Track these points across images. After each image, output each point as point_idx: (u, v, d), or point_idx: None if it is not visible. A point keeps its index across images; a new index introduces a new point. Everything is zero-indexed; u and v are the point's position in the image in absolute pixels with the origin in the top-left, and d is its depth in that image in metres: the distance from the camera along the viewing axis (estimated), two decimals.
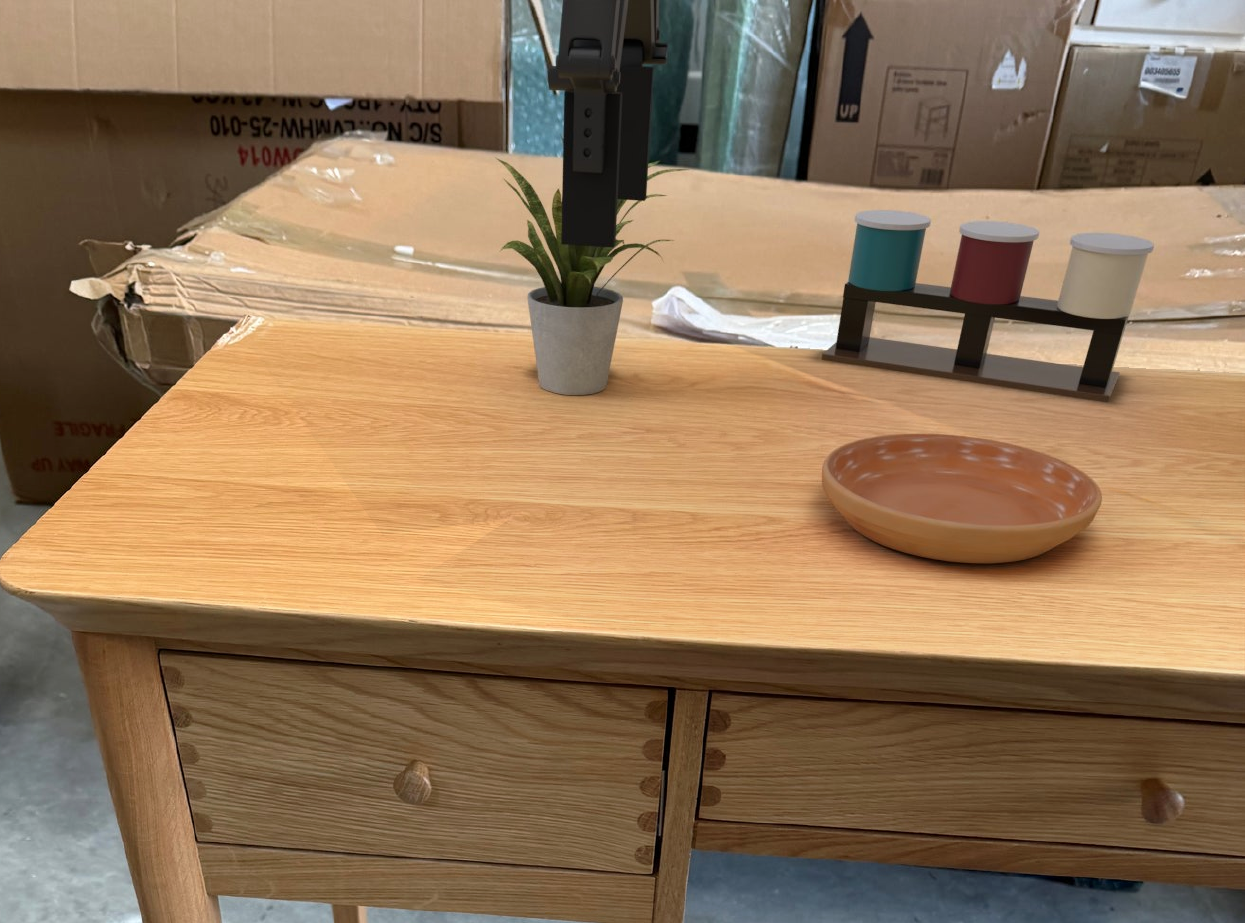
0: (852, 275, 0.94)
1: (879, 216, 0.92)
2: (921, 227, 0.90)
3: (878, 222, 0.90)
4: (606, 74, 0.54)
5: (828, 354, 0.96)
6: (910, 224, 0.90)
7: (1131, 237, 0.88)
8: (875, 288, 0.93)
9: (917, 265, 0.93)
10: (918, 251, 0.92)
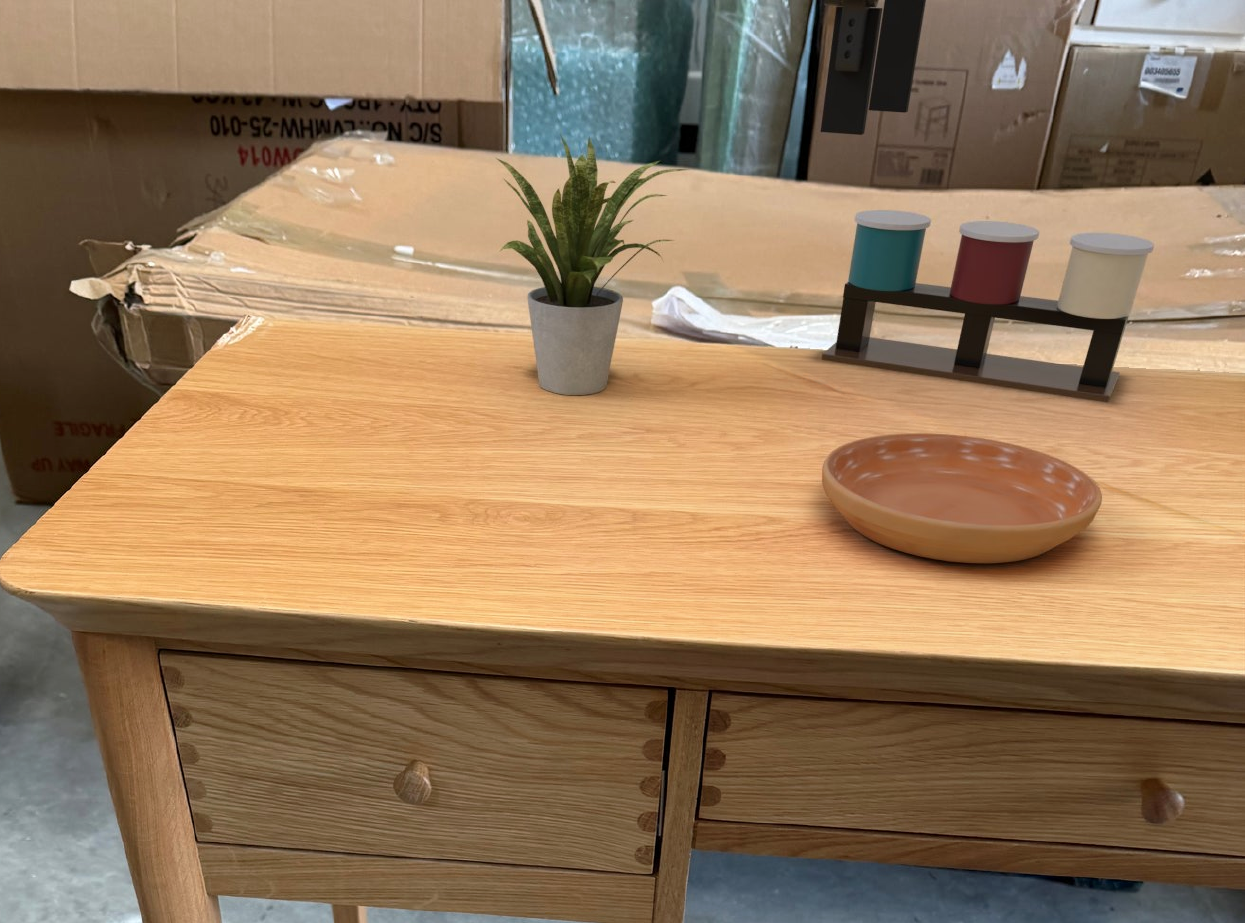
0: (852, 275, 0.94)
1: (879, 216, 0.92)
2: (921, 227, 0.90)
3: (878, 222, 0.90)
4: None
5: (828, 354, 0.96)
6: (910, 224, 0.90)
7: (1131, 237, 0.88)
8: (875, 288, 0.93)
9: (917, 265, 0.93)
10: (918, 251, 0.92)
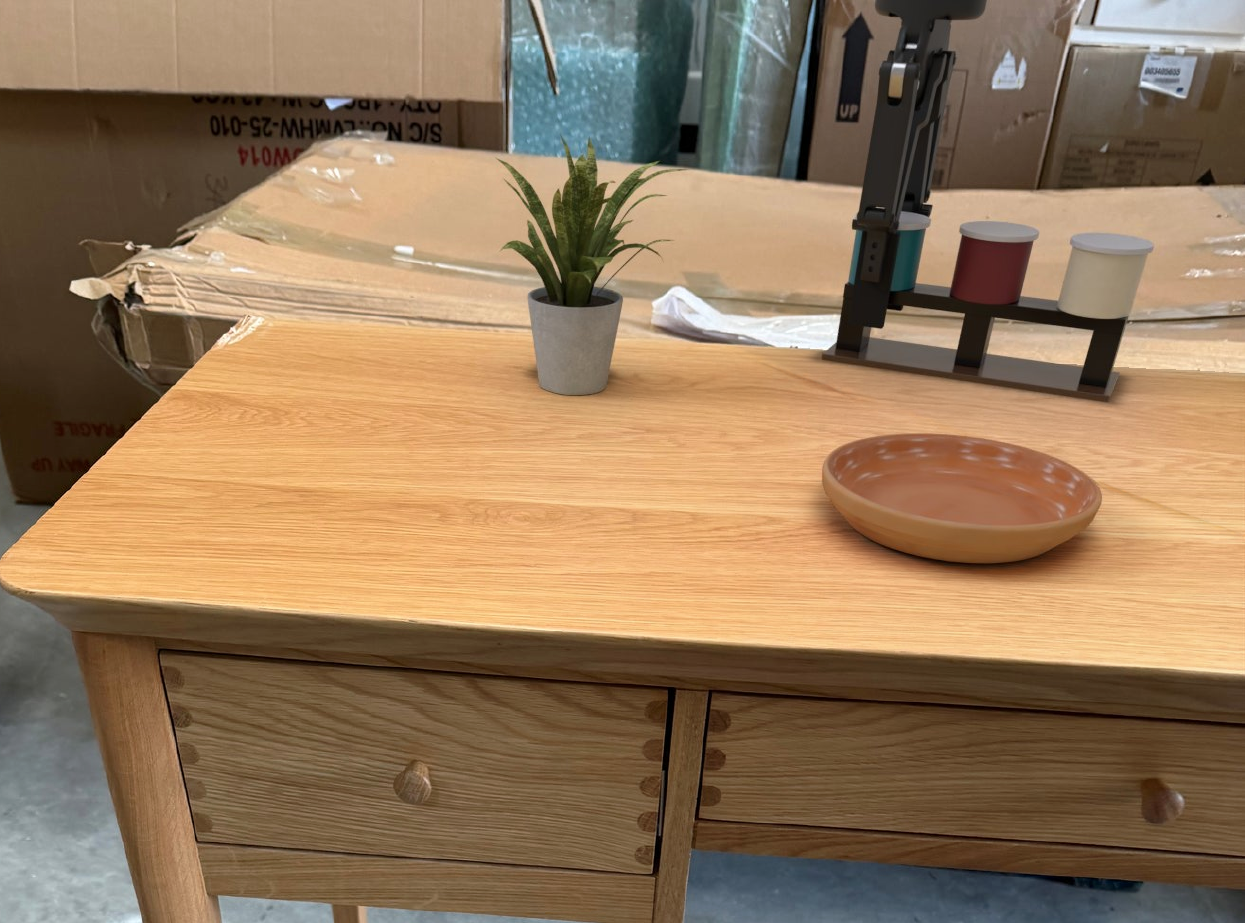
0: (852, 275, 0.94)
1: None
2: (921, 227, 0.90)
3: None
4: (887, 227, 0.87)
5: (828, 354, 0.96)
6: (910, 224, 0.90)
7: (1131, 237, 0.88)
8: None
9: (917, 265, 0.93)
10: (918, 251, 0.92)
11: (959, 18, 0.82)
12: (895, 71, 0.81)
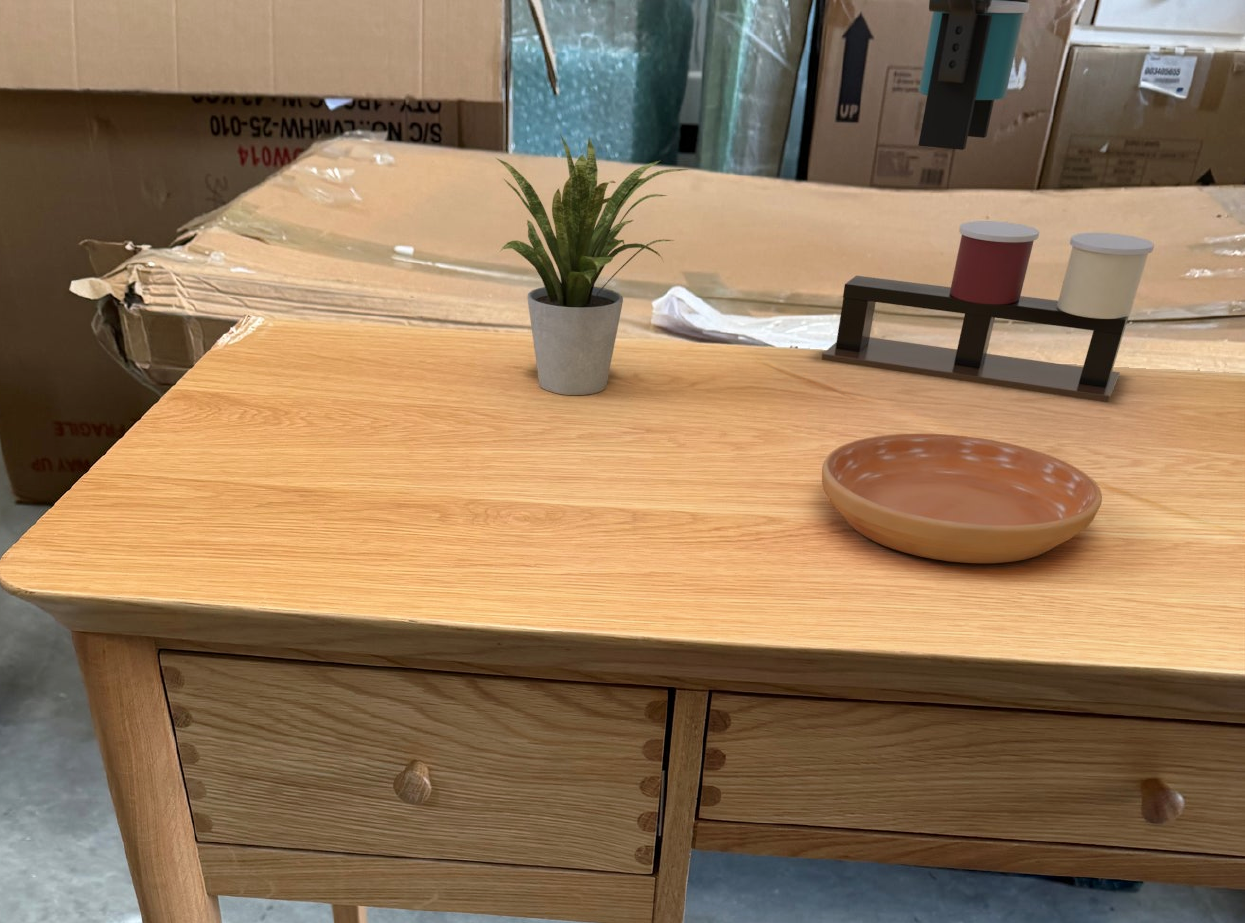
0: (925, 82, 0.73)
1: None
2: (1018, 10, 0.70)
3: None
4: None
5: (828, 354, 0.96)
6: (1004, 4, 0.69)
7: (1131, 237, 0.88)
8: None
9: (1010, 67, 0.72)
10: (1013, 45, 0.71)
11: None
12: None
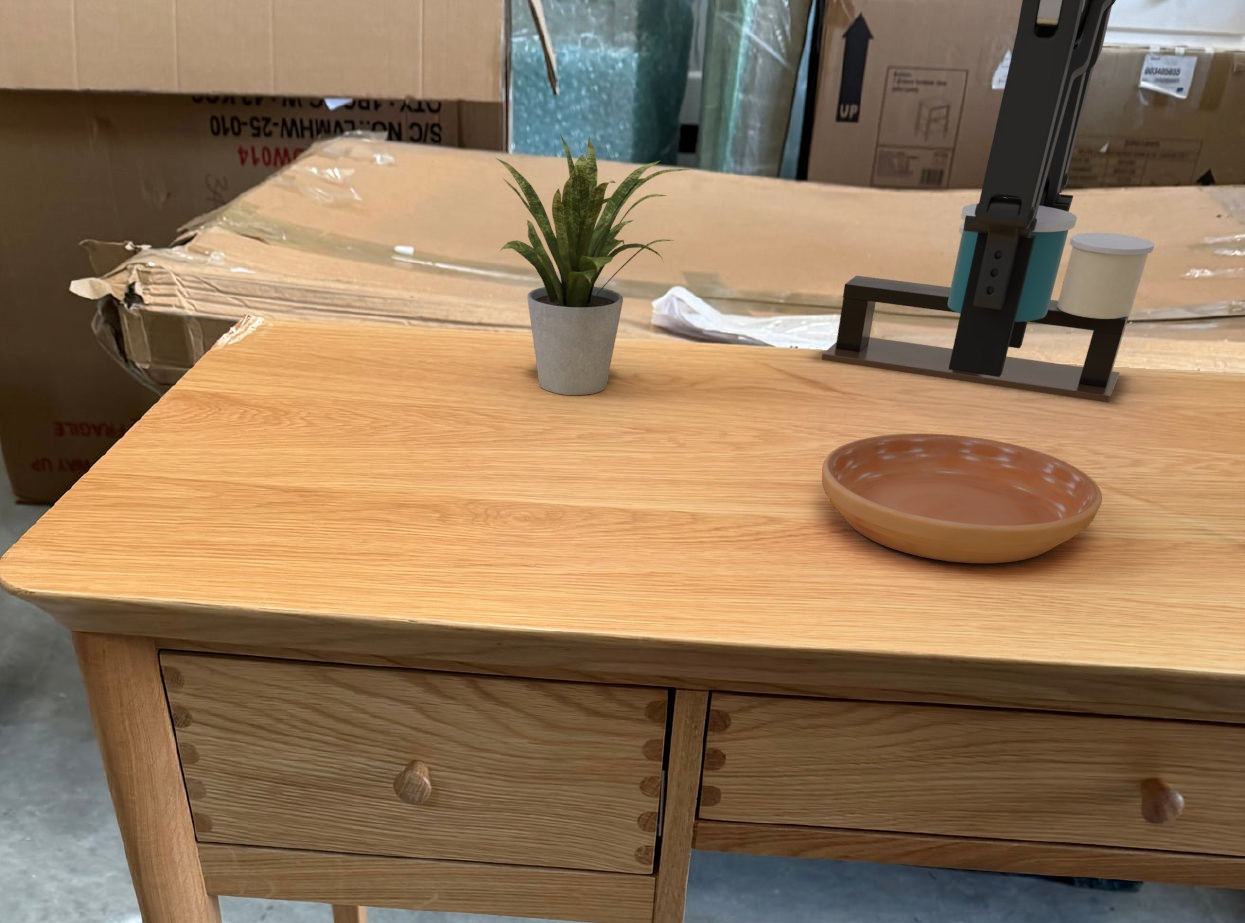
0: (955, 298, 0.64)
1: None
2: (1065, 228, 0.60)
3: None
4: (1022, 227, 0.57)
5: (828, 354, 0.96)
6: (1049, 223, 0.60)
7: (1131, 237, 0.88)
8: None
9: (1053, 284, 0.63)
10: (1057, 263, 0.62)
11: None
12: None
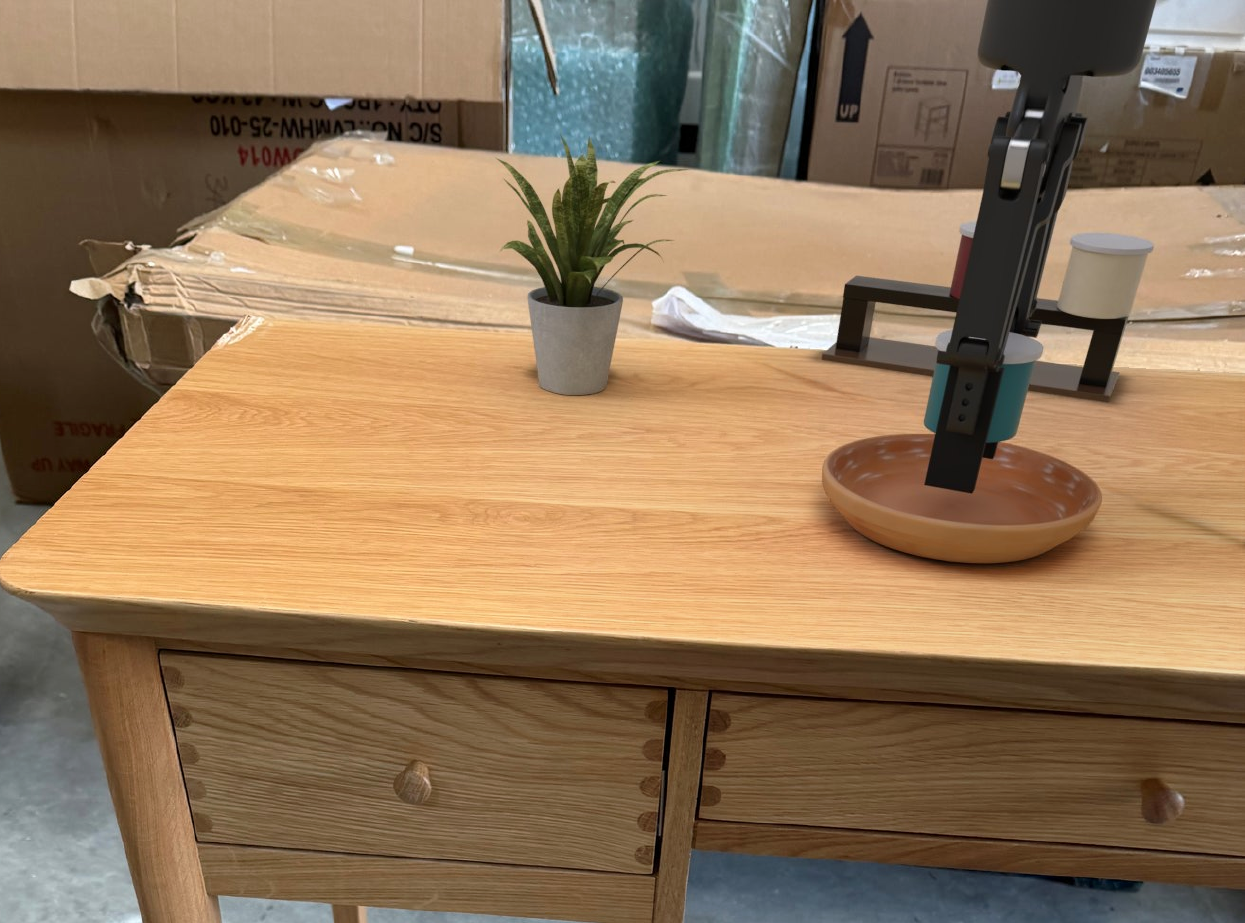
0: (930, 418, 0.68)
1: None
2: (1031, 359, 0.64)
3: None
4: (990, 366, 0.61)
5: (828, 354, 0.96)
6: (1017, 356, 0.64)
7: (1131, 237, 0.88)
8: None
9: (1022, 407, 0.67)
10: (1025, 389, 0.66)
11: (1106, 74, 0.56)
12: (1013, 152, 0.55)
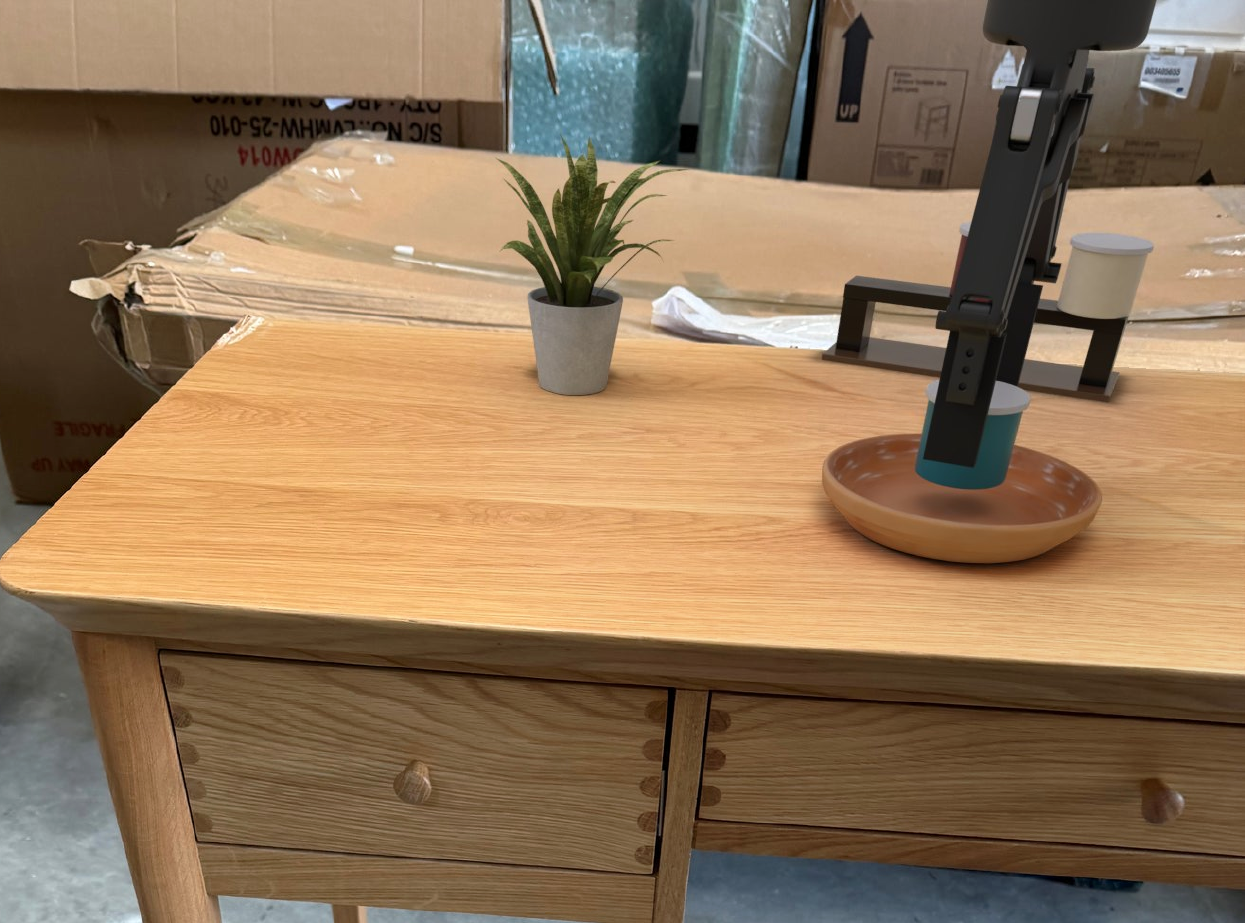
0: (921, 465, 0.70)
1: None
2: (1019, 410, 0.66)
3: None
4: (992, 328, 0.58)
5: (828, 354, 0.96)
6: (1005, 407, 0.66)
7: (1131, 237, 0.88)
8: (954, 486, 0.69)
9: (1010, 455, 0.69)
10: (1013, 438, 0.68)
11: (1113, 49, 0.55)
12: (1025, 97, 0.54)
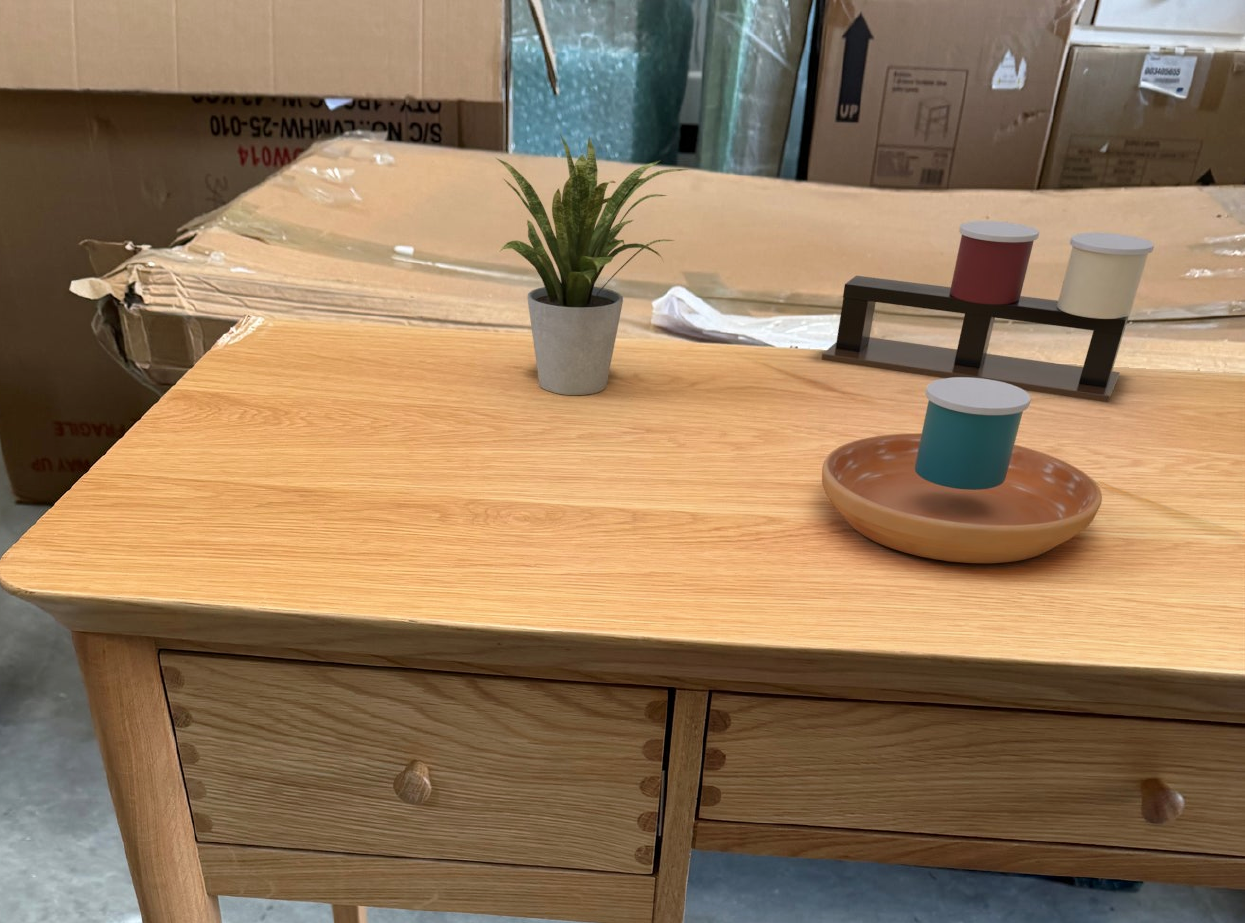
0: (921, 465, 0.70)
1: (960, 391, 0.68)
2: (1019, 410, 0.66)
3: (961, 403, 0.66)
4: None
5: (828, 354, 0.96)
6: (1005, 407, 0.66)
7: (1131, 237, 0.88)
8: (954, 486, 0.69)
9: (1010, 455, 0.69)
10: (1013, 438, 0.68)
11: None
12: None
